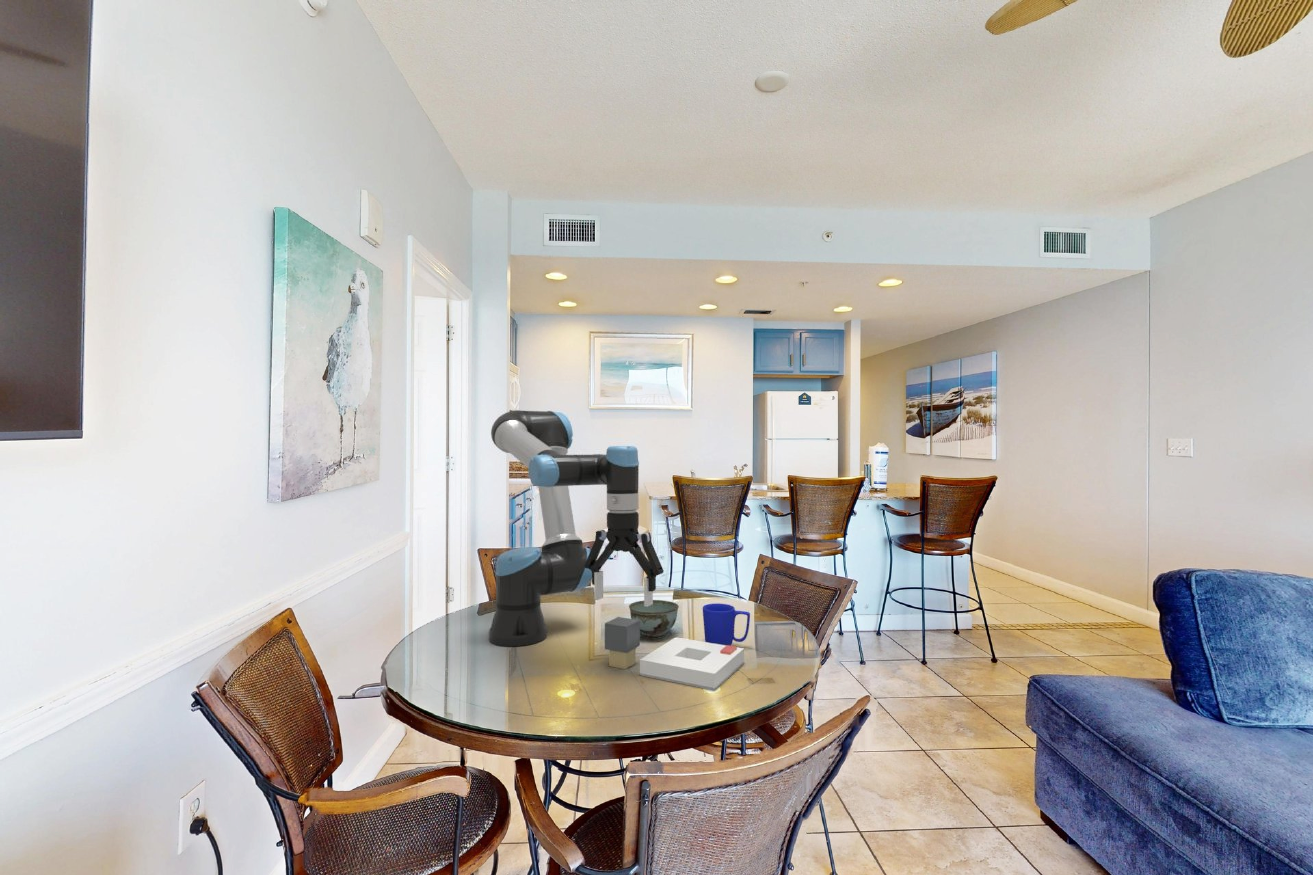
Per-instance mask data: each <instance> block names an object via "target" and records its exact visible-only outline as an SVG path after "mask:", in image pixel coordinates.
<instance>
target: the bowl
mask: <svg viewBox="0 0 1313 875" xmlns="http://www.w3.org/2000/svg"><path fill="white" fill-rule="evenodd" d="M679 607H680V605H678V604H677V603H676V602H673V601H668V600H661V599H653V604H652V605H650V606H648V607H646V606H644V600H640V601H639V600H638V601H635V602H632V603H629V605H628V609H629V610H630V611H629V613H630V619H635V620H640V633H641V634H642V636H643V637H644V638H646V639H660V638H661V639H662V638H664V637H665V635H666V633H667V632H669V631H670V630H671V629H672V628H673V626H675V624H676V621H677V618H678V610H679Z"/></svg>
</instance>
